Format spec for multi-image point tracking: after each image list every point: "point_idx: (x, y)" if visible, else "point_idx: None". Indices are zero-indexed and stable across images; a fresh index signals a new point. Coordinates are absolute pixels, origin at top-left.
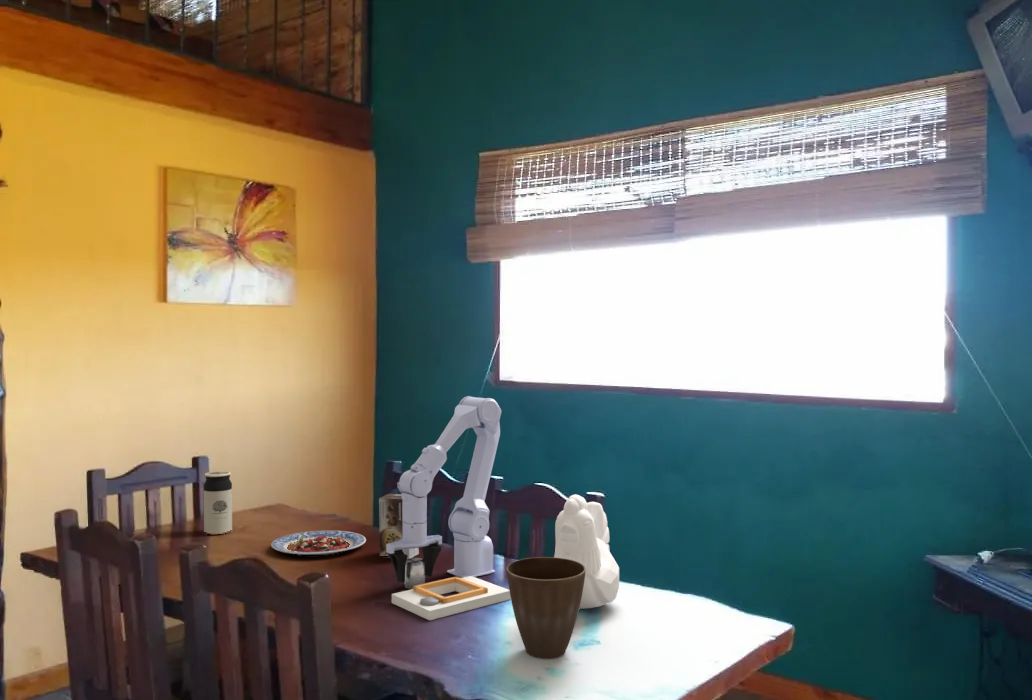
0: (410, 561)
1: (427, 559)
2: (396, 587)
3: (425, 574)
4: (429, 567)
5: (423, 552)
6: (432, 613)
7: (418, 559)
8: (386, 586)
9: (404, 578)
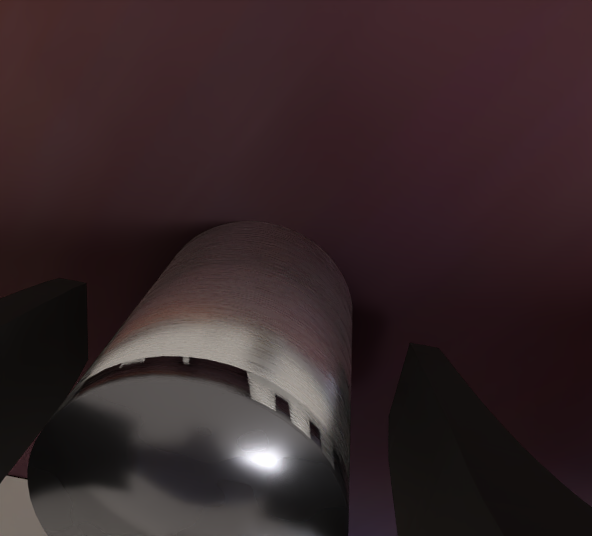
0: (100, 504)
1: (432, 533)
2: (100, 218)
3: (408, 359)
4: (401, 490)
5: (485, 533)
6: None
7: (263, 522)
8: (37, 115)
9: (61, 392)
